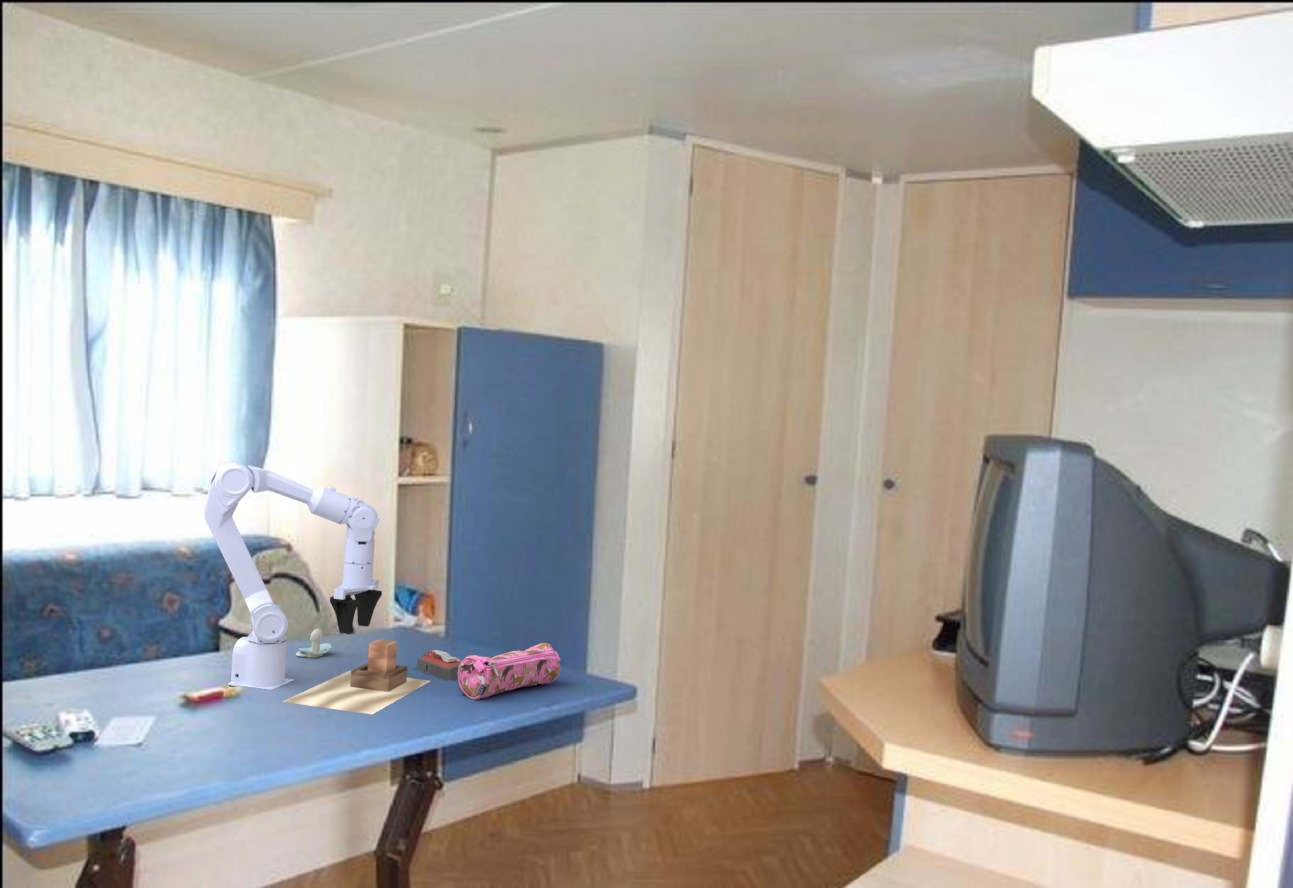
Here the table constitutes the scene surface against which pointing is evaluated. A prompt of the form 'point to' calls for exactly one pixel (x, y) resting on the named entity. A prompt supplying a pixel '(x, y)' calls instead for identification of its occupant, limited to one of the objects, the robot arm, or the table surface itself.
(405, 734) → the table surface
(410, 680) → the build mat
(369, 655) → the block
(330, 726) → the table surface
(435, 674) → the grey red box
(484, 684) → the pencil case
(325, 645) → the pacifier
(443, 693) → the table surface
